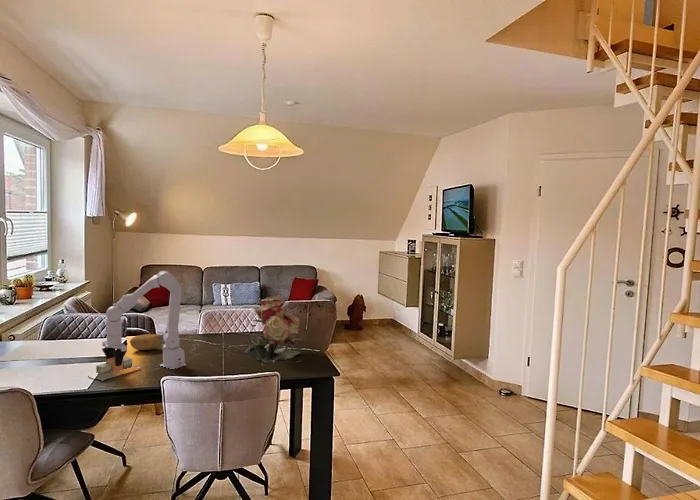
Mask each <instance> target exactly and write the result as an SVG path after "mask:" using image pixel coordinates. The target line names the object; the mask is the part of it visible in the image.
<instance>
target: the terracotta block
mask: <svg viewBox="0 0 700 500" xmlns="http://www.w3.org/2000/svg"><path fill="white" fill-rule="evenodd" d="M106 361H107V362H106V363H107V364H110V365H111V371H112V372H117V371H120V370H123V361H122V365H121V366H116V363H115V357H113V358H109V359H106Z"/></svg>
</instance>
